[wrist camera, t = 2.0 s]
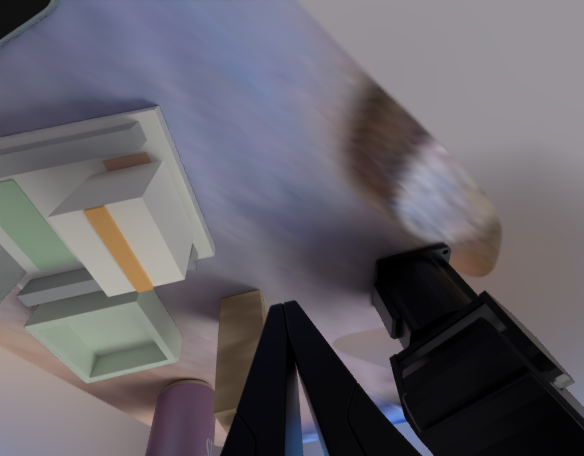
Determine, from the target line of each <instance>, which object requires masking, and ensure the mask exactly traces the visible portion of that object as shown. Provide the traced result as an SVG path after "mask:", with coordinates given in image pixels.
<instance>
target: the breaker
mask: <svg viewBox="0 0 584 456" xmlns="http://www.w3.org/2000/svg"><path fill="white" fill-rule="evenodd" d="M47 218H48V219H49V221H50V222H51V223H52V224H53V226H54V227H55V228H56V230H57V231H58V232H59V234H60V235H61V236H62V237H63V239H64V240H65V241H66V243H67V244H68V245H69V247H70V248H71V249H72V250H73V252H74V253H75V254H76V256H77V257H78V258H79V260H80V261H81V262H82V264H83V265H84V266H85V267H86V269H87V270H88V271H89V273H90V274H91V275H92V277H93V278H94V279H95V280H96V282H97V283H98V284H99V286H100V287H101V288H102V290H103V291H104V292H105V293H106V295H107V296H108V297H110V296H115V295H119V294H124V293H128V292H133V291H137V292H138V293H140V292H144V291H148V290H153V289H154V287H155V286H159V285H164V284H168V283H173V282H177V281H181V280H185V276H186V271H187V266H188V261H189V257H190V252H191V247H192V242H193V238H194V233H195V232H194V230H193V228H192V225H191V223H190V221H189V219H188V216H187V214H186V212H185V209H184V207H183V205H182V202H181V200H180V198H179V195H178V193H177V191H176V189H175V186H174V184H173V182H172V179H171V177H170V175H169V172H168V170H167V168H166V165H165V163H164V161H163V160H161V161H156V162H152V163H147V164H142V165H137V166H132V167H127V168H123V169H118V170H113V171H108V172H103V173H99V174H94V175H90V176H89V177H88V178H87V179H86V180H85V181H84V182H83V183H82V184H81V185H80V186H79V187H78V188H77V189H75V190H74V191H73V192H72V193H71V194H70V195H69V196H68V197H67V198H66V199H65V200H64V201H63V202H62V203H61V204H60V205H59V206H58V207H57V208H56V209H55V210H54V211H53V212H52V213H51V214H50V215H49V216H48V217H47Z"/></svg>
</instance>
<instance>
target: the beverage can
mask: <svg viewBox="0 0 584 456" xmlns="http://www.w3.org/2000/svg"><path fill="white" fill-rule="evenodd" d="M214 396H215V391H214V389H213V388H212V386H211V385H209V384H208V383H206V382H203V381H200V380H182V381H177V382H174V383H172V384H170V385H169V386H167V387H166V388H165V389H164V390H163V391H162V392H161V394H160V395H159V396H158V399H157V403H156V408H155V412H154V417H153V422H152V426H151V431H150V436H149V440H148V445H147V449H146V454H145V456H213V454H214V436H215V418H216V417H215V415H214V414H213V413H214Z"/></svg>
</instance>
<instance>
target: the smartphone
mask: <svg viewBox="0 0 584 456" xmlns="http://www.w3.org/2000/svg"><path fill="white" fill-rule="evenodd" d="M59 1H60V0H0V48H1V47H2V46H3V44H4V43H6V42H7V41H9V40H10V39H12V38H13V37H17V36H18V35H20V34H21V33H23V32H24V31H26V30H27V29H29V28H30V26H31V27H32V26H33V25H34V24H36V23H37V22H38V21H39V20H42V19H43V18H45V17H46V16H47V15H49V14H51V13H52V12H53V11H54V10H55V9H56V8H57V6H58V4H59Z"/></svg>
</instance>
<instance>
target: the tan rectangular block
mask: <svg viewBox="0 0 584 456" xmlns="http://www.w3.org/2000/svg"><path fill="white" fill-rule="evenodd" d="M267 314H268V313H267V310H266V307H265V304H264V301H263V297H262V294H261V291H260V290H257V291H252V292H248V293H243V294H239V295H235V296H230V297H226V298H222V299H220V314H219V331H218V347H217V364H216V380H215V396H214V413H213V414H214V415H215V417H216V418H217V420H218V421H219V422H220V424H221V425H222V427H223V428H224V430H225V431H226V432H227V434H228V432H229V430H230V427H231V424H232V420H233V417H234V414H235V413H237V412H236V409H237V406H238V403H239V400H240V396H241V393H242V390H243V387H244V384H245V381H246V378H247V375H248V372H249V369H250V366H251V363H252V360H253V357H254V354H255V351H256V348H257V345H258V342H259V338H260V335H261V332H262V329H263V326H264V323H265V320H266V317H267Z"/></svg>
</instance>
